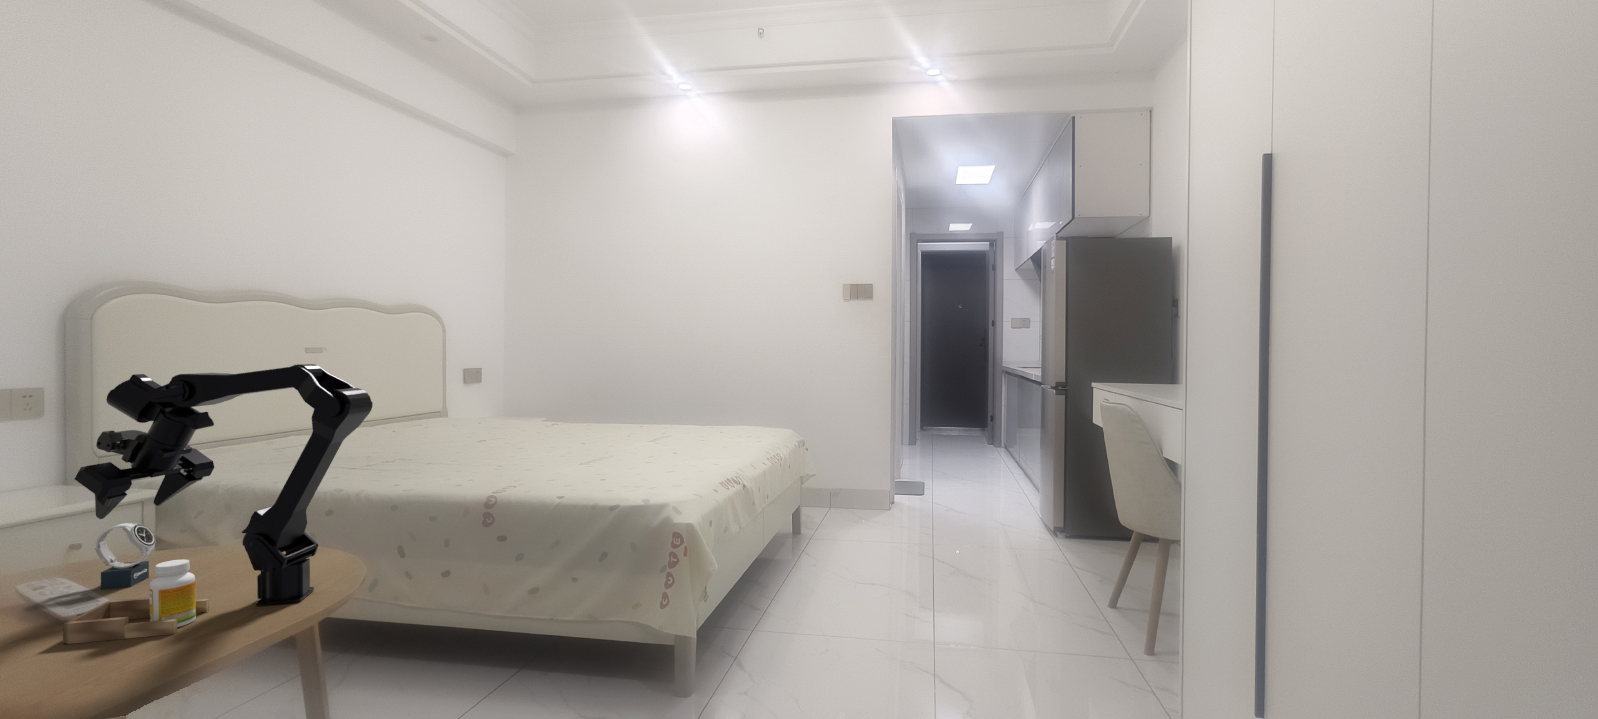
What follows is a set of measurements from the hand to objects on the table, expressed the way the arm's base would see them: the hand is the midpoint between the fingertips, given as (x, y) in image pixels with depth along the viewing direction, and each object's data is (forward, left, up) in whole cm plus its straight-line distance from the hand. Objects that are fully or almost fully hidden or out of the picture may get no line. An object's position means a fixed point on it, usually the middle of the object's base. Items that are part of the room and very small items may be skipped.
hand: (128, 510), depth 119 cm
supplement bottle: (-15, +16, -15) cm, 27 cm away
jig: (-11, +16, -15) cm, 25 cm away
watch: (+5, -9, -15) cm, 18 cm away
